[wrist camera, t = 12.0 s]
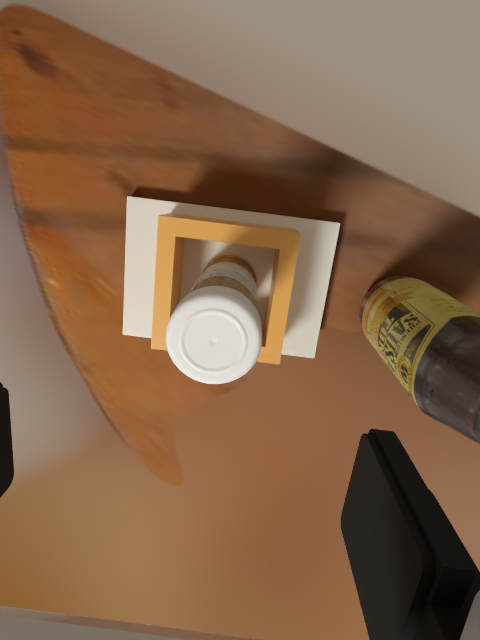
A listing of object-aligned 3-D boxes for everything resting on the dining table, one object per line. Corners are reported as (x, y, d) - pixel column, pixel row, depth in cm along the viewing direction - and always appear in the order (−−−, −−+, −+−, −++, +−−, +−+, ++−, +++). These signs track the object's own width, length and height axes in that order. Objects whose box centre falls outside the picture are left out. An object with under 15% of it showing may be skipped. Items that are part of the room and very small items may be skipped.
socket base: (337, 222, 30) (353, 227, 25) (312, 353, 33) (322, 379, 29) (131, 196, 30) (108, 196, 25) (126, 330, 33) (105, 353, 29)
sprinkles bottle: (232, 321, 32) (219, 405, 19) (188, 284, 31) (143, 347, 18) (270, 279, 31) (283, 338, 18) (225, 240, 30) (205, 272, 17)
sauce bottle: (355, 276, 31) (513, 399, 12) (435, 269, 31) (723, 384, 12) (356, 352, 33) (493, 557, 14) (431, 346, 33) (673, 549, 14)
